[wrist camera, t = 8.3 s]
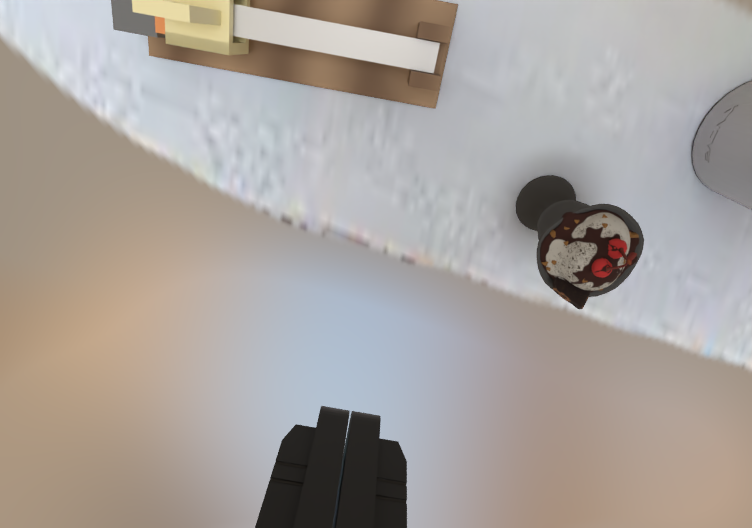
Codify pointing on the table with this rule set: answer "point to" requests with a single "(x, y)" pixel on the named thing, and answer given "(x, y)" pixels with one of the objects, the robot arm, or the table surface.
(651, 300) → the table surface
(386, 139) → the table surface
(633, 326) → the table surface
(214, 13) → the marker sleeve
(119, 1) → the sliding door bolt
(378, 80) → the wooden bracket
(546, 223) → the sundae
